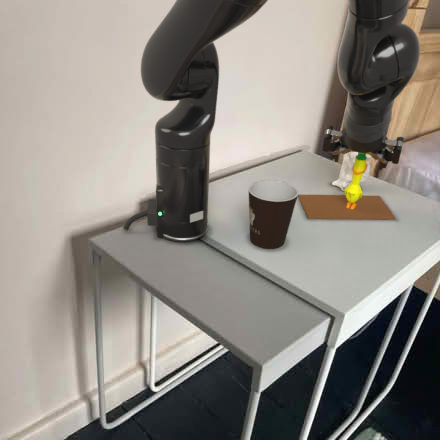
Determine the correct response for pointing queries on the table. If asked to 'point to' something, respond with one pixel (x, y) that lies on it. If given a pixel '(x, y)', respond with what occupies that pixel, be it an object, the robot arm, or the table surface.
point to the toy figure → (356, 180)
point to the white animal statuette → (350, 170)
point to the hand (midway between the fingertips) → (359, 161)
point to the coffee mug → (270, 212)
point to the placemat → (344, 207)
